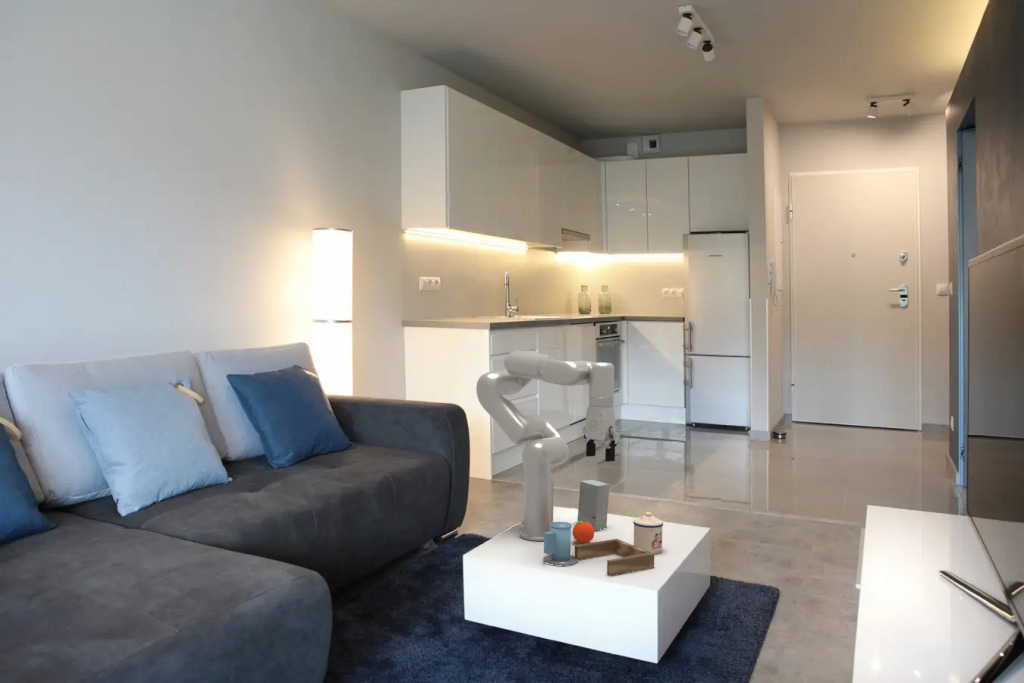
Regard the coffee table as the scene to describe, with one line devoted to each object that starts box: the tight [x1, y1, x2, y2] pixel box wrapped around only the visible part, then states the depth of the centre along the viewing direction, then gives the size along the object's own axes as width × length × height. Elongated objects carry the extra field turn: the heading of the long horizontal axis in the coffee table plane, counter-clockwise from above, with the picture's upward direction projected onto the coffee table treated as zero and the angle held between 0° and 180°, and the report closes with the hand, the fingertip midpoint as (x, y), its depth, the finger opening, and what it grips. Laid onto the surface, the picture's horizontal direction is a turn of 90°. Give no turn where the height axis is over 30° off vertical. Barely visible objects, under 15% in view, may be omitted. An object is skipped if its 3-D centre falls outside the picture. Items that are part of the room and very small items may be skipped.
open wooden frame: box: [574, 538, 655, 576], centre depth 217 cm, size 17×16×4 cm
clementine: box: [571, 521, 595, 544], centre depth 237 cm, size 8×7×7 cm
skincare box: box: [576, 479, 610, 532], centre depth 255 cm, size 8×7×16 cm
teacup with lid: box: [632, 511, 664, 555], centre depth 232 cm, size 12×9×12 cm
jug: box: [543, 521, 573, 562], centre depth 218 cm, size 8×6×10 cm
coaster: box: [543, 554, 579, 567], centre depth 219 cm, size 10×10×1 cm
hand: (600, 458), depth 229 cm, fingers open, 9 cm apart
